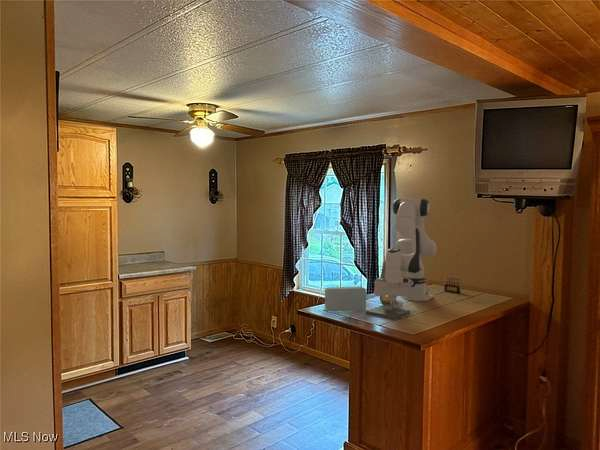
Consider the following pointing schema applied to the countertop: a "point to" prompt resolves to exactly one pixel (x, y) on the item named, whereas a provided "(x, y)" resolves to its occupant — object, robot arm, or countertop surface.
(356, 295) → the bar with end hole
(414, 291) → the robot arm
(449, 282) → the ammunition clip
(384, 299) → the gold knob with bar
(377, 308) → the plate
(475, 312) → the countertop surface
